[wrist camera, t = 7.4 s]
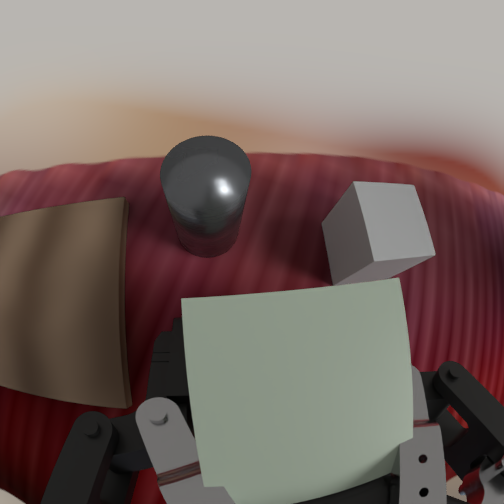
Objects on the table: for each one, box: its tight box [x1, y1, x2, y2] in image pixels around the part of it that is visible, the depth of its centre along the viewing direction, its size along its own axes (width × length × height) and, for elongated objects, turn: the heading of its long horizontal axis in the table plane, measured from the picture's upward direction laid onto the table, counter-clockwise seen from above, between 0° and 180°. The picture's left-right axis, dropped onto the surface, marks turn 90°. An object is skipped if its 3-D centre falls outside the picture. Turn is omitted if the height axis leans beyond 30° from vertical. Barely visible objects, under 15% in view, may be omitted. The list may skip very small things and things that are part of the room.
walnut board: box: [0, 197, 132, 409], centre depth 13 cm, size 12×12×1 cm
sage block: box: [181, 278, 413, 504], centre depth 9 cm, size 5×5×10 cm
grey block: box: [321, 181, 436, 286], centre depth 14 cm, size 4×4×5 cm
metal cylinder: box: [160, 136, 251, 258], centre depth 13 cm, size 4×4×6 cm
